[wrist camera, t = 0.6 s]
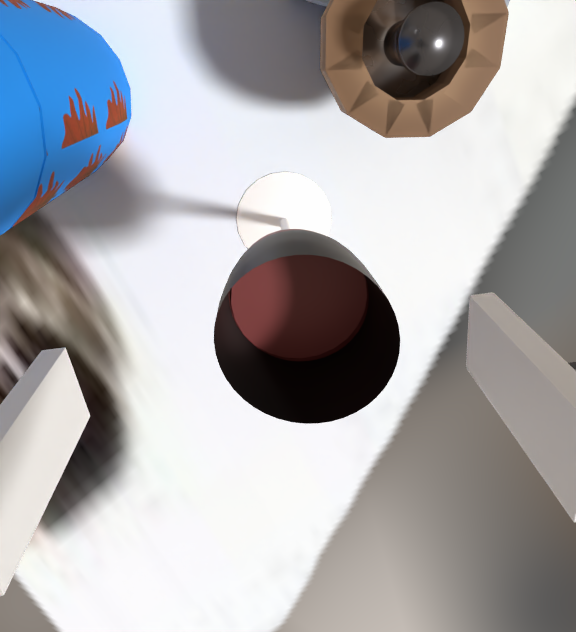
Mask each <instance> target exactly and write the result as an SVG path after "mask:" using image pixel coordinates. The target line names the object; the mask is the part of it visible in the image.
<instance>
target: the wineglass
mask: <svg viewBox="0 0 576 632" xmlns="http://www.w3.org/2000/svg"><path fill="white" fill-rule="evenodd" d="M236 219H237V226H238V233H239V235H240V237H241V239H242V241H243V243H244V245H245V246H246V247H247V248H248V250H247V251H246V252H245V253H244V254H243V256H242V257H241V258H240V260H239V261H238V263H237V264H236V266H235V267H234V269H233V270H232V272H231V274H230V276H229V279H228V281H227V283H226V286H225V288H224V291H223V294H222V296H221V300H220V303H219V308H218V312H217V317H216V322H215V327H214V344H215V351H216V356H217V359H218V362H219V365H220V368H221V370H222V372H223V374H224V376H225V378H226V379H227V381H228V382H229V383H230V385H231V386H232V387H233V389H234V390H235V391H236V392H237V393H238V394H239V395H240V396H241V397H242V398H243V399H244V400H245V401H247V402H248V403H249V404H251V405H252V406H253V407H255V408H257V409H258V410H260V411H262V412H264V413H265V414H268V415H270V416H273V417H275V418H278V419H282V420H286V421H290V422H296V423H323V422H330V421H334V420H337V419H341V418H344V417H346V416H349V415H351V414H353V413H355V412H357V411H359V410H360V409H362V408H363V407H365V406H367V405H368V404H369V403H370V402H371V401H373V400H374V399H375V398H376V397H377V396H378V395H379V394H380V393H381V391H382V390H383V389H384V388H385V386H386V385H387V383H388V382H389V380H390V378H391V377H392V374H393V372H394V370H395V367H396V365H397V360H398V356H399V349H400V335H399V326H398V323H397V319H396V316H395V313H394V311H393V309H392V307H391V305H390V303H389V301H388V299H387V297H386V296H385V294H384V293H383V291H382V289H381V288H380V287H379V285H378V284H377V282H376V281H375V280H374V278H373V277H372V275H371V274H370V273H369V271H368V270H367V269H366V267H365V266H364V265H363V264H362V263H361V262H360V260H359V259H358V258H357V257H356V256H355V255H354V254H353V253H352V252H351V251H349V250H348V249H347V248H346V247H344V246H343V245H341V244H340V243H339V242H337V241H336V240H334V239H332V238H330V237H328V233H329V230H330V226H331V208H330V205H329V203H328V200H327V198H326V195H325V193H324V192H323V191H322V190H321V189H320V188H319V186H318V185H317V184H316V183H315V182H313V181H312V180H310V179H308V178H307V177H305V176H303V175H300V174H296V173H291V172H280V173H271V174H269V175H267V176H265V177H263V178H260V179H258V180H257V181H256V182H255V183H254V184H252V185H251V186H250V187H249V188H248V189H247V190H246V192H245V194H244V195H243V197H242V199H241V201H240V203H239V206H238V212H237V217H236Z"/></svg>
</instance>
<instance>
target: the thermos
mask: <svg viewBox="0 0 576 632" xmlns="http://www.w3.org/2000/svg"><path fill="white" fill-rule="evenodd" d="M130 119H131V95H130V86H129V84H128V81H127V78H126V76H125V73H124V70H123V67H122V65H121V62H120V60H119V58H118V57H117V56H116V55H115V53H114V52H113V51H112V49H111V48H110V47H109V45H108V44H107V43H106V41H105V40H104V39H103V37H102V36H101V35H100V34H99V33H97V32H96V31H94V30H93V29H92V28H90V27H89V26H87V25H86V24H85V23H83V22H82V21H80V20H79V19H78V18H76V17H75V16H73V15H71V14H68V13H66V12H64V11H62V10H60V9H58V8H56V7H53V6H49V5H46V4H43V3H39V2H36V1H33V0H0V235H2V234H3V233H5V232H6V231H8V230H9V229H10V228H12V227H13V226H15V225H16V224H18V223H19V222H21V221H22V220H24V219H25V218H27V217H28V216H30V215H31V214H33V213H34V212H36V211H37V210H39V209H40V208H42V207H43V206H45V205H46V204H48V203H49V202H51V201H52V200H54V199H55V198H56V197H58V196H59V195H61V194H62V193H64V192H65V191H67V190H68V189H70V188H71V187H73V186H74V185H76V184H77V183H79V182H80V181H82V180H83V179H85V178H86V177H88V176H89V175H91V174H92V173H94V172H95V171H96V170H97V169H98V168H99V167H100V166H101V165H102V164H103V163H104V162H105V161H107V160H108V158H109V157H110V156H111V155H112V154H113V153H114V151H115V150H116V149H117V148H118V147H119V145H120V144H121V143H122V142H123V141H124V138H125V134H126V131H127V128H128V125H129V122H130Z"/></svg>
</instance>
